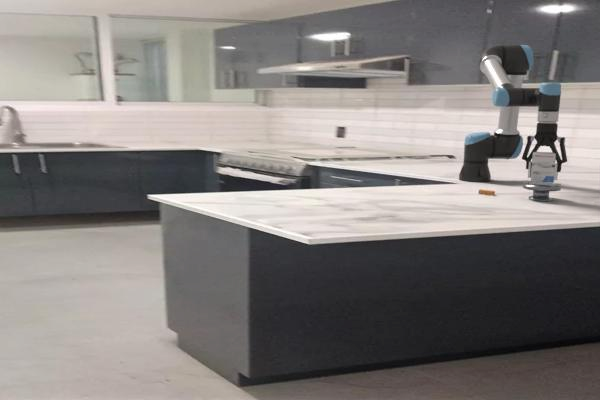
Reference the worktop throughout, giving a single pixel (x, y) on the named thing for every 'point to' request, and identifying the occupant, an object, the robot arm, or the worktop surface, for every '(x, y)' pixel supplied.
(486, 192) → the wedge pin
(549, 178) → the ink box
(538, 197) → the rosette stub
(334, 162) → the worktop surface
